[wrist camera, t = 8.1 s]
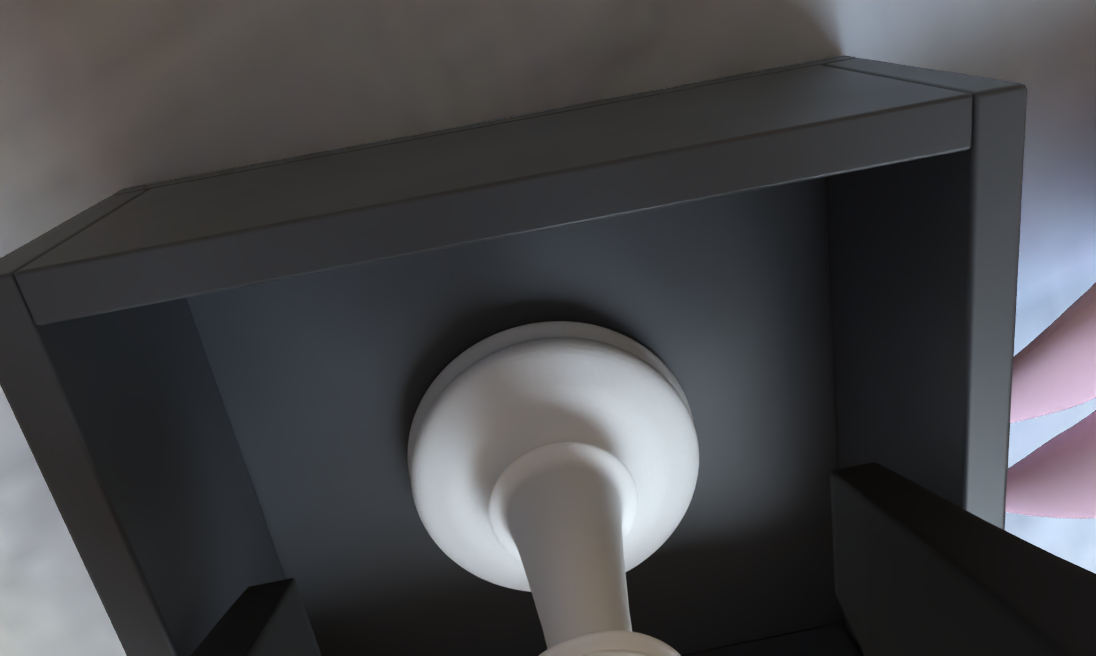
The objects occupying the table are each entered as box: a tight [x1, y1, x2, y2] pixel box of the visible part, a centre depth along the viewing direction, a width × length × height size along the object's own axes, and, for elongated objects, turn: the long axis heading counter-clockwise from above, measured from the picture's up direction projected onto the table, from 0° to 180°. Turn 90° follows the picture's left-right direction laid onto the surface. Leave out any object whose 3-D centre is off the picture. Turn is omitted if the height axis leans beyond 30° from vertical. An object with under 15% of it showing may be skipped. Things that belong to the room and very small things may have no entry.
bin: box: [0, 56, 1027, 656], centre depth 13 cm, size 11×11×4 cm
